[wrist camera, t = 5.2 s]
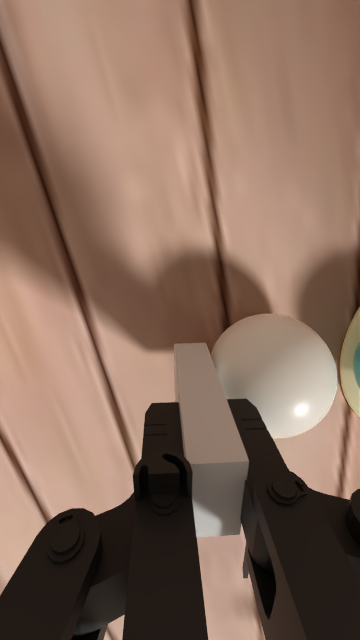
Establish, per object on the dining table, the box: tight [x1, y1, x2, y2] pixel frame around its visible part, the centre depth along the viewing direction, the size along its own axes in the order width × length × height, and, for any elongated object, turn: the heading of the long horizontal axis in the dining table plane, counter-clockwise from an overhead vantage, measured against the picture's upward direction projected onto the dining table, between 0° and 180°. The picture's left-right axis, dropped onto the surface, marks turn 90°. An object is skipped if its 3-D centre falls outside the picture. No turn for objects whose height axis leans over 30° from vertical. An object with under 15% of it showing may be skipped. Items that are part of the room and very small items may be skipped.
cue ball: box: [211, 314, 337, 438], centre depth 12 cm, size 6×6×6 cm
